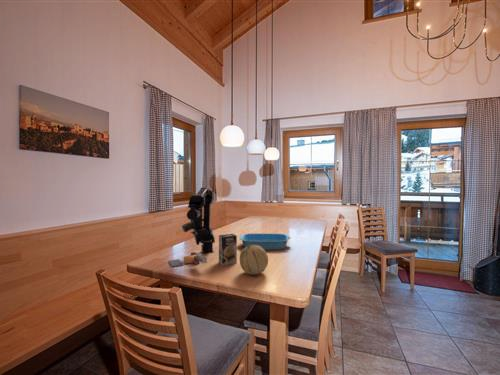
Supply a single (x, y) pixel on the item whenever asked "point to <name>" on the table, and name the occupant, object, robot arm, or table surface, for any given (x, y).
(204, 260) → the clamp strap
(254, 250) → the cantaloupe
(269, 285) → the table surface
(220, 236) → the coffee box
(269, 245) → the casserole dish
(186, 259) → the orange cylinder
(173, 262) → the mat
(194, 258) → the clamp blocks
